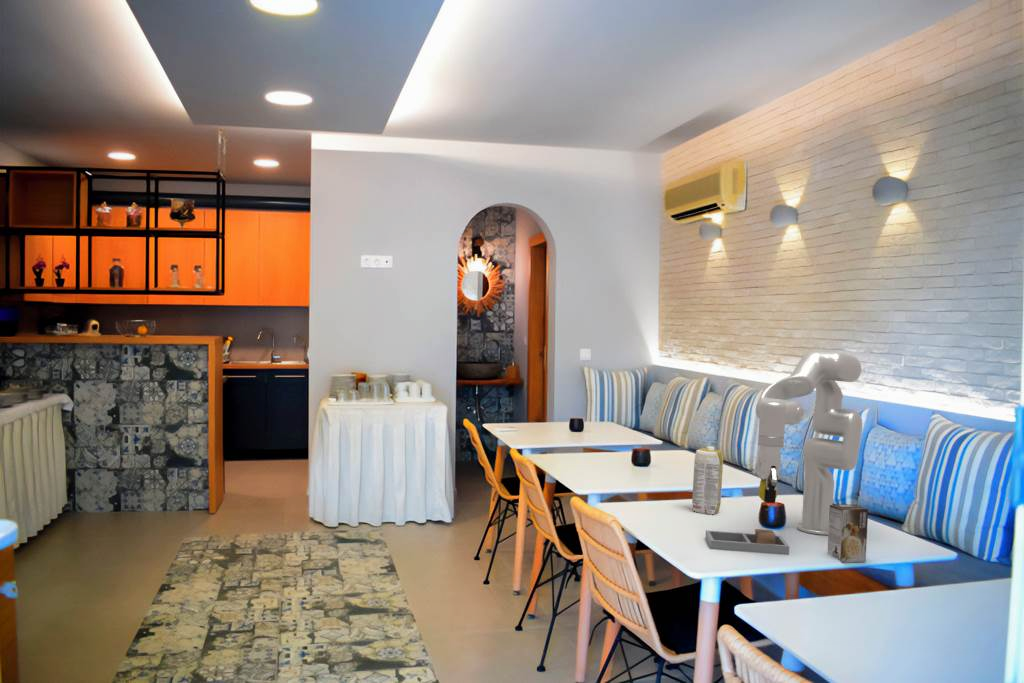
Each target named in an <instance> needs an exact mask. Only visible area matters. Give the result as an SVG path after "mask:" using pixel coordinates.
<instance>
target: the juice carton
mask: <svg viewBox="0 0 1024 683" xmlns="http://www.w3.org/2000/svg"><path fill="white" fill-rule="evenodd" d="M723 468H724V456H723V450H717V449H716V450H715V446H709V445H708V446H707V447H706V448H704V447H701V448H699V449H697V450H695V455H694V464H693V482H692V498H691V499H692V502H691V503H692V510H693V512H694V511H695V512H694V513H699V512H701V514H705V513H707V514H706V515H710V514H714V515H716V514H717V513H719V511H720V508H721V502H722V487H723ZM715 513H716V514H715Z"/></svg>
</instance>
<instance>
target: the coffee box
mask: <svg viewBox="0 0 1024 683" xmlns="http://www.w3.org/2000/svg"><path fill="white" fill-rule="evenodd" d="M868 518H869V508H867V507H863V506H860V505H858V504H857V505H856V504H833V505H830V512H829V532H828V535H827V536H828V538H827V555H828V556H831V557H832V558H833V557H834V558H835V559H836V560H838V561H839V562H840V564H841V563H842V564H844V563H847V564H848V563H862V562H863V563H864V562H866V560H867V544H868V543H867V538H868V523H869V522H868V521H869V519H868Z"/></svg>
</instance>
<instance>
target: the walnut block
mask: <svg viewBox="0 0 1024 683" xmlns="http://www.w3.org/2000/svg"><path fill="white" fill-rule="evenodd" d="M754 530H755V531H754V534H755V543H761V544H774V545H775V535H776V533H775V532H774V530H772V529H763V528H755V529H754Z"/></svg>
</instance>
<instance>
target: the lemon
mask: <svg viewBox="0 0 1024 683" xmlns="http://www.w3.org/2000/svg"><path fill="white" fill-rule="evenodd" d="M768 479H770V478H768ZM769 483H770V482H769ZM765 489H766V480H763V481H762V482H761V483H759V486H758V496H760V497H759V498H760V500H761V501H762V502H764V496H765ZM778 493H779V492H778V486H777V484H776V498H777V496H778ZM769 504H770V503H765V505H769Z"/></svg>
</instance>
